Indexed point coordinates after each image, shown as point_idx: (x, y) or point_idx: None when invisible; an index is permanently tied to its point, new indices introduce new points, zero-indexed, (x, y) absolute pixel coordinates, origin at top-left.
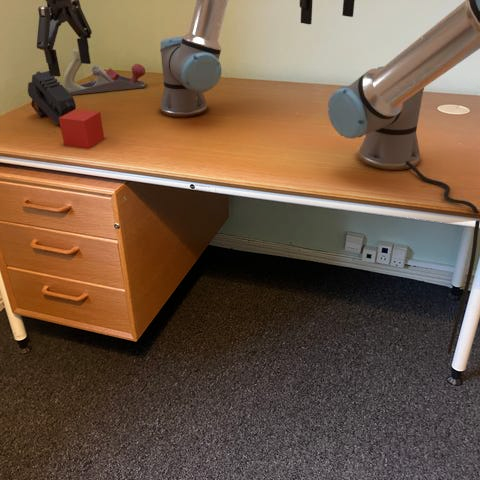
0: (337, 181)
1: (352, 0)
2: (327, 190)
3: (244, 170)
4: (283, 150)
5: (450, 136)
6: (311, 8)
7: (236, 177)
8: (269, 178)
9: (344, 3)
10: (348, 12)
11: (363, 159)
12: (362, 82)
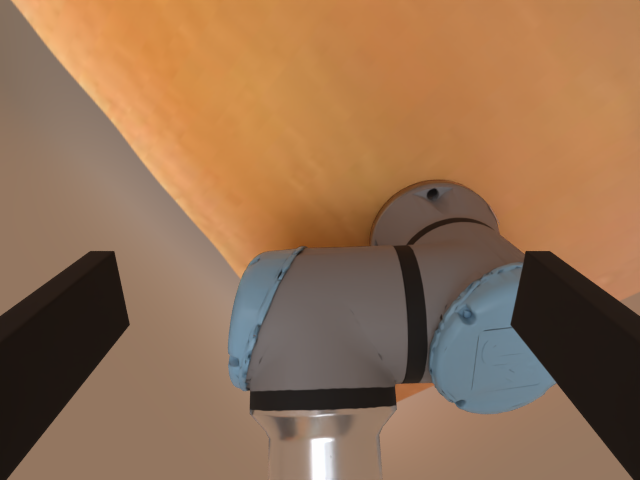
0: (270, 244)
1: (577, 403)
2: (229, 258)
3: (139, 77)
4: (289, 42)
5: (636, 247)
6: (66, 394)
7: (105, 96)
8: (166, 149)
9: (573, 308)
10: (527, 317)
11: (374, 224)
12: (258, 412)
